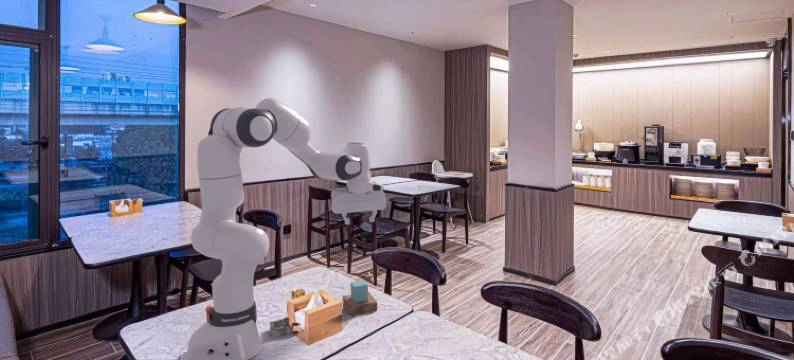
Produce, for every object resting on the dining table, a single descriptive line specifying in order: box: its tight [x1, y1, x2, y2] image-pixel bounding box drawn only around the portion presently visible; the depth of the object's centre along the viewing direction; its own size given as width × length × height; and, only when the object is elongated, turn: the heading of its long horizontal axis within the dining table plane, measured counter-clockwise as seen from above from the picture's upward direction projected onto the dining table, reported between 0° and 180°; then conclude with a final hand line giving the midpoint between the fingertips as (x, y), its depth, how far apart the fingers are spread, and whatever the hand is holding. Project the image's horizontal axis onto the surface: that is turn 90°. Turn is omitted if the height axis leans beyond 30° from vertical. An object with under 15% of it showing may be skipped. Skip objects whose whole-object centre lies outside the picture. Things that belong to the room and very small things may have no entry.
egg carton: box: [268, 316, 296, 338], centre depth 142 cm, size 11×8×4 cm
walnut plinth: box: [342, 291, 378, 316], centre depth 159 cm, size 10×10×3 cm
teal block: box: [350, 279, 369, 303], centre depth 158 cm, size 5×5×6 cm
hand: (359, 223), depth 163 cm, fingers open, 8 cm apart
